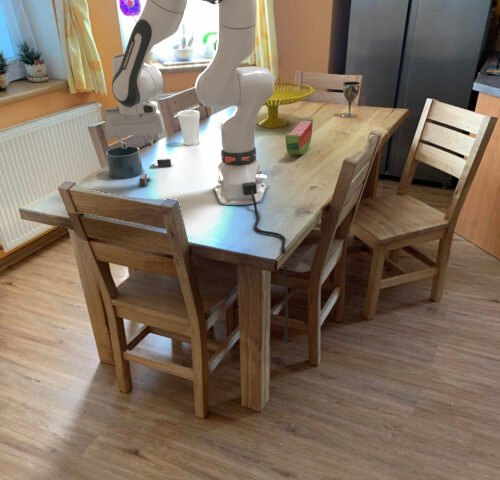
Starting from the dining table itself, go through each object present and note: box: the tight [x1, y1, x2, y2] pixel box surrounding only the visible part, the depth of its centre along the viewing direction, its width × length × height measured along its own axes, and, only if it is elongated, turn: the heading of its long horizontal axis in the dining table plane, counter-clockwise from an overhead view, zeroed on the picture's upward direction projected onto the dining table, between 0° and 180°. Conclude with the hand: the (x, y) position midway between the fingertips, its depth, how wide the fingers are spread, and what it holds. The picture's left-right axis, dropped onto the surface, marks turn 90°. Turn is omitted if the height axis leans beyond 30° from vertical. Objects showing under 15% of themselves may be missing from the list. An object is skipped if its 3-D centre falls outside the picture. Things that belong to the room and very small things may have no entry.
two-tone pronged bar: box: [150, 157, 172, 169], centre depth 207 cm, size 8×3×3 cm, turn 91°
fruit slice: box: [285, 117, 314, 156], centre depth 214 cm, size 26×6×10 cm, turn 162°
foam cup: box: [177, 109, 201, 147], centre depth 228 cm, size 10×9×13 cm
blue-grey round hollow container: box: [105, 145, 144, 180], centre depth 201 cm, size 13×13×8 cm
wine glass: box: [341, 81, 361, 118], centre depth 256 cm, size 8×8×15 cm
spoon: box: [138, 173, 151, 188], centre depth 193 cm, size 8×3×3 cm, turn 1°
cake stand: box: [258, 81, 315, 129], centre depth 249 cm, size 40×40×15 cm
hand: (138, 147), depth 185 cm, fingers open, 8 cm apart
